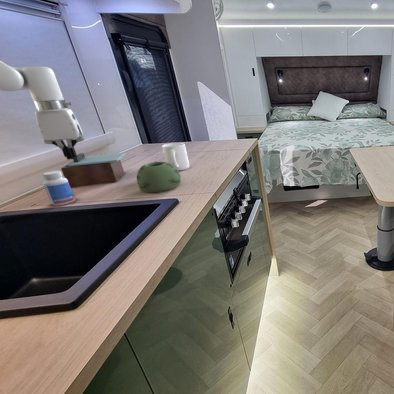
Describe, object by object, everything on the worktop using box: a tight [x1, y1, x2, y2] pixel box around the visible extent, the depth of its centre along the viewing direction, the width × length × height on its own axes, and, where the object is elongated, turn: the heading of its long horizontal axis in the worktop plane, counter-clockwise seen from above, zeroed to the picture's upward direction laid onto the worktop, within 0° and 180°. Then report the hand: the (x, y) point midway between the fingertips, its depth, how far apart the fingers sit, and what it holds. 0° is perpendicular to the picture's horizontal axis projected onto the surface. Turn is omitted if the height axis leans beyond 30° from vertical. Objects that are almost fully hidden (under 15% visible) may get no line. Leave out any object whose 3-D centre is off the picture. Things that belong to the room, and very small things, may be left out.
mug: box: [161, 142, 191, 172], centre depth 120 cm, size 12×8×10 cm
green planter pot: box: [136, 160, 182, 193], centre depth 102 cm, size 16×13×9 cm
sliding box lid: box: [68, 152, 126, 166], centre depth 109 cm, size 14×13×2 cm
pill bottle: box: [42, 170, 76, 206], centre depth 89 cm, size 6×5×10 cm
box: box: [60, 159, 125, 189], centre depth 110 cm, size 14×13×7 cm
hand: (71, 158), depth 106 cm, fingers closed
